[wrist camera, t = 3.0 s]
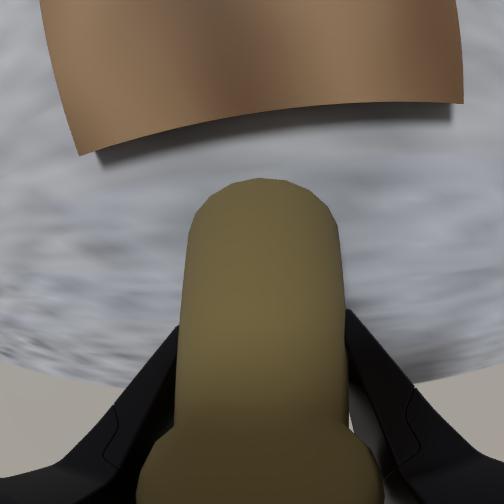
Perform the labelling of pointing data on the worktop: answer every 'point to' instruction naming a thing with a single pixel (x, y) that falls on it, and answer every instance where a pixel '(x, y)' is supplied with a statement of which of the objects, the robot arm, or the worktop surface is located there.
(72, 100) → the walnut coaster board
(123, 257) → the worktop surface
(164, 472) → the cork
